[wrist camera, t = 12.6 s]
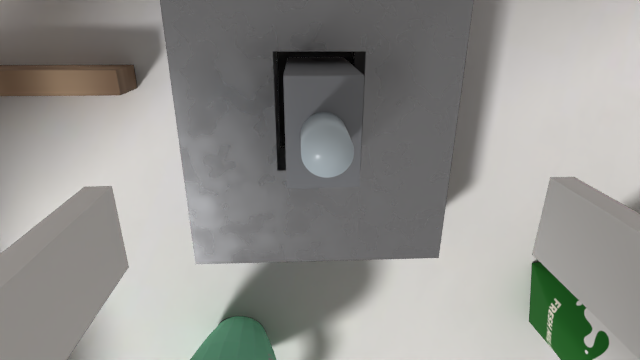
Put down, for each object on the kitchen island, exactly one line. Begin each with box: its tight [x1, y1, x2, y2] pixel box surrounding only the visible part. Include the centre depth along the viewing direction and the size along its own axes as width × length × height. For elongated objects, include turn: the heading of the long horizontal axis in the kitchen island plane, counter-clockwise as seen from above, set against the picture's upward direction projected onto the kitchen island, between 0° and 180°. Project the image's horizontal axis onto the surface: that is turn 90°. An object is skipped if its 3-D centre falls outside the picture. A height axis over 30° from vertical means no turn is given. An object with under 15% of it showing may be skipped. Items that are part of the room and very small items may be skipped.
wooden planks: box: [0, 65, 137, 96], centre depth 25 cm, size 14×10×3 cm
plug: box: [283, 57, 364, 188], centre depth 24 cm, size 4×6×13 cm, turn 0°
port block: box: [160, 0, 474, 264], centre depth 27 cm, size 18×22×5 cm
